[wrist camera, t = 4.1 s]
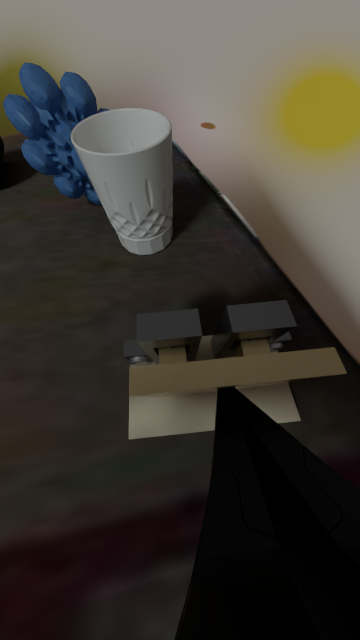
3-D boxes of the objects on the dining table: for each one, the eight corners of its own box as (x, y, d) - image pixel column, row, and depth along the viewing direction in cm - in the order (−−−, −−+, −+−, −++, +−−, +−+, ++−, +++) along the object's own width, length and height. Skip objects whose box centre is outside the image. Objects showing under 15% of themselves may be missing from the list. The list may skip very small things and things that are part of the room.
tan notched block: (260, 386, 14) (347, 373, 6) (159, 397, 14) (129, 396, 6) (246, 332, 16) (300, 275, 8) (156, 341, 15) (131, 291, 8)
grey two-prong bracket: (273, 353, 15) (331, 324, 9) (134, 367, 15) (101, 347, 9) (267, 334, 16) (317, 295, 10) (135, 347, 16) (104, 315, 10)
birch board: (293, 419, 14) (300, 420, 13) (132, 436, 14) (128, 439, 13) (265, 333, 17) (270, 329, 16) (133, 346, 17) (130, 343, 16)
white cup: (189, 236, 22) (192, 126, 13) (141, 270, 20) (105, 167, 11) (151, 208, 25) (132, 100, 16) (105, 236, 23) (52, 129, 14)
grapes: (72, 235, 23) (-30, 89, 12) (60, 208, 26) (-34, 65, 15) (151, 206, 25) (125, 59, 14) (132, 183, 28) (98, 42, 17)
